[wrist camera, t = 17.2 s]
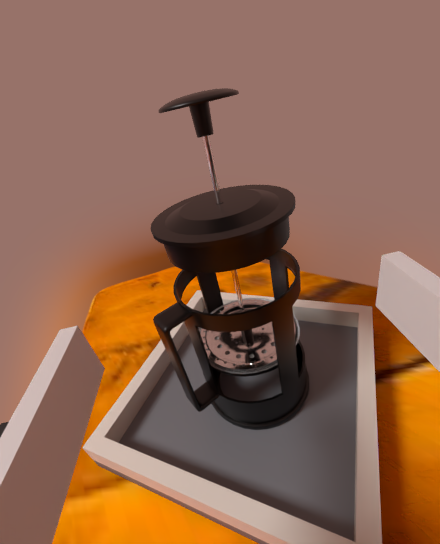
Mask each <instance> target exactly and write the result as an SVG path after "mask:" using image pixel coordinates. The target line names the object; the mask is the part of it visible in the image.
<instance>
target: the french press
mask: <svg viewBox="0 0 440 544" xmlns="http://www.w3.org/2000/svg"><path fill="white" fill-rule="evenodd" d="M237 94H238V91H237V90H233V89H213V90H208V91H202V92H198V93H194V94H190V95H187V96H183V97H181V98H178V99H175V100H173V101H171V102H169V103H167V104H165V105H164V106H163V107H161V108H160V109H159V113H162V112H167V111H171V110H175V109H180V108H184V107H188V106H189V108H190V112H191V115H192V119H193V123H194V127H195V130H196V134H197V137H202V138H203V142H204V147H205V151H206V156H207V161H208V165H209V170H210V175H211V179H212V183H213V188H214V191H210V192H206V193H203V194H200V195H197V196H194V197H191V198H189V199H186V200H183V201H181V202H179V203H177V204H175V205H173V206H171V207H169V208H168V209H166V210H165V211H163V212H162V213H160V214H159V215H158V216H157V217H156V218H155V219H154V221H153V222H152V224H151V232H152V234H153V236H154V238H155V239H156V240H157V241H158V242H160V243H163V244H164V246H165V249H166V252H167V255H168V257H169V260H170V262H171V263H172V264H174V265H175V266H176V267H178V268H180V269H183V270H182V271H181V272H180V273H179V275H178V276H177V278H176V280H175V283H174V295H175V298H176V300H177V303H176V304H174V305H172V306H171V307H169V308H167V309H166V310H164V311H162V312H161V313H159V314H157V315H156V316H155V317H154V319H153V320H154V324H155V326H156V329H157V331H158V333H159V335H160V338H161V340H162V342H163V345H164V347H165V349H166V351H167V354H168V356H169V358H170V360H171V363H172V365H173V367H174V369H175V372H176V374H177V376H178V378H179V381H180V383H181V385H182V388H183V390H184V392H185V394H186V397H187V398H188V400H189V401H190V402H191V403H192V405H193V406H194V407H195V409H196V410H197V411H198V412H201V411H203V410H204V409H205V408H206V407H208V406H209V405H210V404H212V406H213V407H214V408H215V410H216V411H217V413H218V414H219V415H220V416H221V417H223V418H224V419H225V420H226V421H228V422H230V423H231V424H233V425H235V426H238V427H241V428H244V429H251V430H262V429H269V428H273V427H276V426H279V425H281V424H283V423H285V422H287V421H289V420H290V419H291V418H292V417H293V416H295V415H296V414H297V413H298V411H299V410H300V409H301V408H302V406H303V405H304V403H305V400H306V398H307V396H308V391H309V374H308V371H307V367H306V363H305V352H304V349H303V346H302V344H301V342H300V340H299V336H300V327H299V323H298V320H297V318H296V317H295V315H294V314H293V308H292V306H293V305H294V303H295V302H296V300H297V299H298V296H299V293H300V268H299V265H298V262H297V260H296V259H295V258H294V257H293V256H292V255H291V254H290V253H288V252H287V251H285V250H283V249H281V248H282V247H283V246H284V245H285V244H286V242H287V240H288V238H289V230H290V229H289V215H291V214H292V212H293V210H294V209H295V197H294V195H293V194H292V193H291V192H290V191H288V190H287V189H284V188H281V187H277V186H270V185H245V186H236V187H229V188H223V189H220V188H219V183H218V178H217V174H216V168H215V164H214V159H213V154H212V149H211V144H210V140H209V135H211V134H213V128H212V122H211V115H210V109H209V101H213V100H217V99H221V98H225V97H229V96H233V95H237ZM264 259H268V260H270V268H271V276H272V284H273V291H274V299H275V300H269V299H264V298H245V299H242V295H241V290H240V285H239V281H238V276H237V271H236V269H240V268H243V267H247V266H250V265H253V264H255V263H258V262H260V261H262V260H264ZM287 268H288V269H290V270H291V271H292V272H293V274H294V275H295V280H294V282H293V284H292V285H291V286H290V288H289V282H288V271H287ZM224 271H231V272H232V276H233V281H234V285H235V290H236V295H237V299H238V300H235V301H231V302H229V303H226V304H224V305H223V301H222V297H221V293H220V289H219V285H218V281H217V277H216V272H224ZM196 276H197V278H198V282H199V285H200V289H201V292H202V295H203V299H204V302H205V305H206V309H207V312H208V313H204V312H200V311H197V310H194V309H192V308H190V307H188V306H187V305H185V304H184V303H183V302H182V301H181V298H182V294H183V291H184V290H185V288H186V286H187V285H188V284H189V282H190V281H191V280H192V279H193V278H195V277H196ZM183 322H185V324H186V327H187V330H188V333H189V335H190V338H191V341H192V344H193V346H194V349H195V352H196V355H197V357H198V360H199V363H200V366H201V368H202V371H203V375H204V377H205V380H206V382H205V383H204V384H203V385H201V386H200V387H199V388H197V389H196V390H195V391H194V390H193V388H192V386H191V383H190V381H189V378H188V376H187V373H186V371H185V369H184V366H183V364H182V361H181V359H180V356H179V354H178V352H177V349H176V347H175V344H174V342H173V339H172V337H171V335H170V331H171V330H172V329H173V328H175V327H176V326H178V325H179V324H181V323H183ZM198 327H199V328H198ZM276 368H278V370H279V377H280V384H281V391H282V393H280V394H278V395H275V396H273V397H271V398H267V399H264V400H259V401H241V400H236V399H233V398H229V397H227V396H225V395H224V394H223V392H222V390H221V385H220V378H221V374H222V373H224V374H228V375H232V376H243V377H246V376H256V375H260V374H264V373H267V372H270V371H272V370H274V369H276Z"/></svg>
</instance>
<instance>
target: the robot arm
mask: <svg viewBox="0 0 440 544" xmlns="http://www.w3.org/2000/svg"><path fill="white" fill-rule="evenodd" d="M376 307H377V308H378V309H379V310H380V311H381V312H382V313H383V314H384V315H385V316H386V317H387V318H388V319H389V320H390V321H391V322H392V323H393V324H394V325H395V326H396V327H397V328H398V329H399V330H400V332H401V333H402V334H403V335H404V336H405V337H406V338H407V339H408V340H409V341H410V342H411V343H412V344H413V345H414V346H415V347H416V348H417V349H418V350H419V351H420V352H421V353H422V354H423V355H424V356H425V357H426V358H427V359H428V360H429V361H430V362H431V363H432V364H433V366H434V367H435V368H436V369H437V370H438V371H439V372H440V278H439V277H438V276H436V275H435V274H433V273H432V272H430V271H429V270H427V269H426V268H424V267H423V266H421V265H420V264H418V263H416V262H415V261H414V260H412V259H411V258H409V257H408V256H406V255H405V254H403V253H402V252H400V251H399V252H394V253H389V254H385V255H382V258H381V266H380V274H379V282H378V290H377V298H376ZM104 369H105V368H104V367H103V365H102V364H101V362H100V360H99V359H98V357H97V356H96V354H95V352H94V351H93V349H92V348H91V346H90V344H89V343H88V341H87V340H86V338H85V337H84V335H83V333H82V332H81V330H80V329H79V327H78V326H74V327H70V328H66V329H61V330H60V331H59V332H58V334H57V336H56V338H55V340H54V342H53V343H52V345H51V347H50V349H49V351H48V352H47V354H46V356H45V358H44V360H43V361H42V363H41V365H40V367H39V369H38V370H37V372H36V374H35V376H34V378H33V379H32V381H31V383H30V385H29V387H28V389H27V390H26V392H25V394H24V396H23V398H22V399H21V401H20V403H19V405H18V407H17V408H16V410H15V412H14V414H13V416H12V417H11V419H10V421H9V422H6V423H2V424H1V425H0V544H52V541H53V538H54V535H55V531H56V528H57V525H58V521H59V518H60V515H61V511H62V508H63V505H64V501H65V498H66V495H67V492H68V488H69V485H70V482H71V478H72V475H73V472H74V468H75V465H76V462H77V458H78V455H79V452H80V448H81V445H82V442H83V438H84V435H85V432H86V428H87V425H88V422H89V418H90V415H91V412H92V408H93V405H94V402H95V398H96V395H97V392H98V388H99V385H100V382H101V379H102V375H103V372H104Z"/></svg>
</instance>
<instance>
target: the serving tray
mask: <svg viewBox="0 0 440 544" xmlns="http://www.w3.org/2000/svg"><path fill="white" fill-rule="evenodd" d="M220 293H221V292H220ZM241 295H242V294H241ZM221 297H222V301H223V305H224V304H226V303H229V302H231V301H235V300H238V299H237V295H236V294H232V293H221ZM245 298H264V299H269V300H275V299H274V297H264V296H253V295H242V299H245ZM187 306H188V307H190V308H192V309H194V310H197V311H200V312H204V313H208V312H207V309H206V305H205V302H204V299H203V295H202V292H201V291H199V290H197V291H196V293H195V294H194V296H193V297H192V298H191V300H190V301H189V302H188V304H187ZM292 308H293V314H294V315H295V317H296V318H297V320H298V323H299V327H300V336H299V340H300V342H301V344H302V346H303V349H304V352H305V363H306V367H307V371H308V374H309V391H308V396H307V398H306V400H305V403H304V405H303V406H302V408H301V409H300V410H299V411H298V413H297V414H296V415H295V416H293V417H292V418H291V419H290V420H289V421H287V422H285V423H283V424H281V425H279V426H276V427H273V428H269V429H262V430H251V429H244V428H241V427H238V426H235V425H233V424H231V423H230V422H228V421H226V420H225V419H224V418H223V417H221V416H220V415H219V414H218V413H217V411H216V410H215V408H214V407H213V406H212V404H210V405H209V406H208V407H206V408H205V409H204V410H203V411H201V412H198V411H197V410H196V409H195V407H194V406H193V405H192V403H191V402H190V401H189V400H188V398H187V397H186V394H185V392H184V390H183V388H182V385H181V383H180V381H179V378H178V376H177V374H176V372H175V369H174V367H173V365H172V363H171V360H170V358H169V356H168V354H167V351H166V349H165V347H164V345H163V342H162V340H161V341H160V342H159V343H158V345H157V346H156V348H155V349H154V350H153V352H152V353H151V354H150V356H149V357H148V358H147V360H146V361H145V363H144V364H143V365H142V367H141V368H140V369H139V371H138V372H137V374H136V375H135V376H134V378H133V379H132V380H131V382H130V383H129V384H128V386H127V387H126V389H125V390H124V391H123V393H122V394H121V395H120V397H119V398H118V400H117V401H116V402H115V404H114V405H113V406H112V408H111V409H110V410H109V412H108V413H107V415H106V416H105V417H104V419H103V420H102V421H101V423H100V424H99V426H98V427H97V428H96V430H95V431H94V432H93V434H92V435H91V436H90V438H89V439H88V441H87V442H86V443H85V445H84V446H83V447H82V448H83V449H84V450H85V451H86V452H87V453H88V454H89V456H90V457H91V458H92V459H93V460H94V461H95V462H96V463H97V464H98V466H100V467H102V468H105V469H107V470H109V471H111V472H113V473H115V474H117V475H119V476H121V477H123V478H125V479H127V480H129V481H131V482H133V483H136V484H138V485H140V486H142V487H144V488H146V489H148V490H150V491H152V492H154V493H156V494H158V495H160V496H162V497H164V498H167V499H169V500H171V501H173V502H175V503H177V504H179V505H181V506H183V507H185V508H187V509H189V510H191V511H193V512H195V513H198V514H200V515H202V516H204V517H206V518H208V519H210V520H212V521H214V522H216V523H218V524H220V525H222V526H224V527H226V528H228V529H231V530H233V531H235V532H237V533H239V534H241V535H243V536H245V537H247V538H249V539H251V540H253V541H255V542H257V543H259V544H382V528H381V504H380V481H379V457H378V434H377V410H376V387H375V363H374V340H373V316H372V306H362V305H351V304H340V303H329V302H319V301H308V300H296V302H295V303H294V305H293V306H292ZM198 328H199V327H198ZM170 335H171V337H172V339H173V342H174V344H175V347H176V349H177V352H178V354H179V356H180V359H181V361H182V364H183V366H184V369H185V371H186V373H187V376H188V378H189V381H190V383H191V386H192V388H193V390H194V391H195V390H196V389H197V388H199V387H200V386H201V385H203V384H204V383H205V382H206V380H205V377H204V375H203V371H202V368H201V366H200V363H199V360H198V357H197V355H196V352H195V349H194V346H193V344H192V341H191V338H190V335H189V333H188V330H187V327H186V324H185V322H183V323H181V324H179V325H178V326H176V327H175V328H173V329H172V330H171V331H170ZM220 385H221V390H222V392H223V394H224V395H225V396H227V397H229V398H233V399H236V400H241V401H259V400H264V399H267V398H271V397H273V396H275V395H278V394H280V393H282V391H281V384H280V377H279V370H278V368H276V369H274V370H272V371H270V372H267V373H264V374H260V375H256V376H246V377H243V376H232V375H228V374H224V373H222V374H221V378H220Z"/></svg>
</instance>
